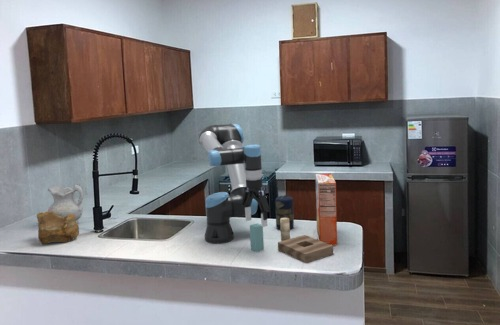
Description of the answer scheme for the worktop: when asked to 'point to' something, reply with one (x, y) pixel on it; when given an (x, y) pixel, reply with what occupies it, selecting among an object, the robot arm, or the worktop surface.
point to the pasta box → (326, 208)
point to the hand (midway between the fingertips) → (256, 223)
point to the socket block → (305, 248)
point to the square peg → (256, 237)
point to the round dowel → (285, 229)
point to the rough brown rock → (56, 227)
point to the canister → (284, 210)
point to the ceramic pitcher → (66, 201)
